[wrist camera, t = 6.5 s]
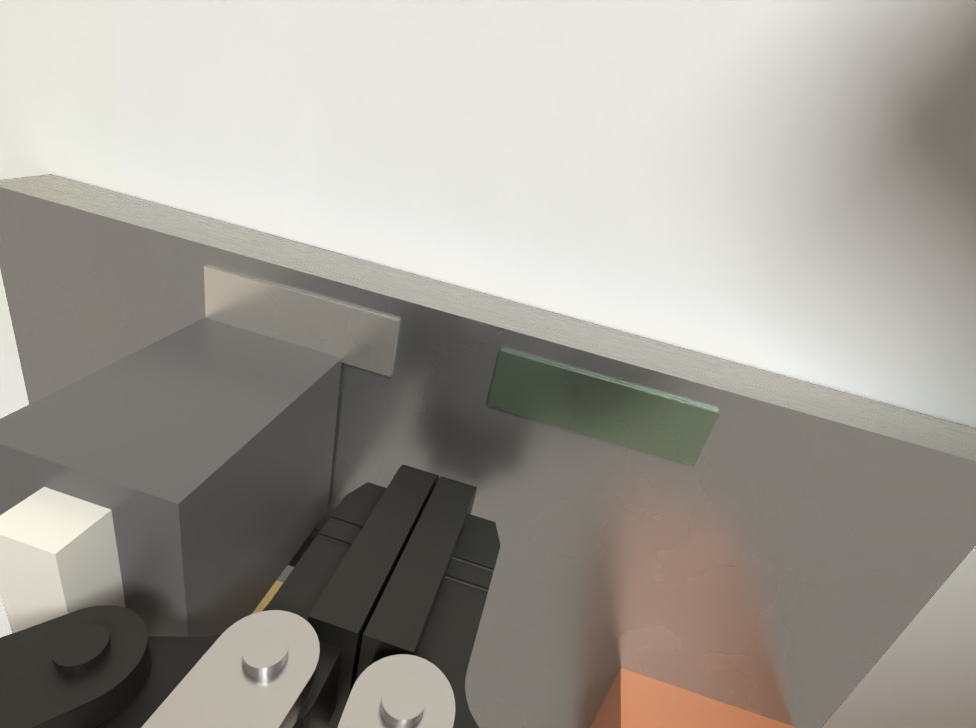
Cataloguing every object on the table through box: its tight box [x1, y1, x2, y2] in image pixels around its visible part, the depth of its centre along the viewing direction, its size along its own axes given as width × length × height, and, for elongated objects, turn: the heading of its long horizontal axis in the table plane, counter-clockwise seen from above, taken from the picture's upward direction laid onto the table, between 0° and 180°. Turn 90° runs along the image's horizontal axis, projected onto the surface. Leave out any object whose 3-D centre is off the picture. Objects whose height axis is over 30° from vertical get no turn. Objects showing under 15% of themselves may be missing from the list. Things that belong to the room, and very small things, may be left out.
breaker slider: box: [0, 317, 342, 637], centre depth 9 cm, size 3×4×5 cm
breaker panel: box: [0, 174, 976, 728], centre depth 13 cm, size 20×13×3 cm, turn 78°
